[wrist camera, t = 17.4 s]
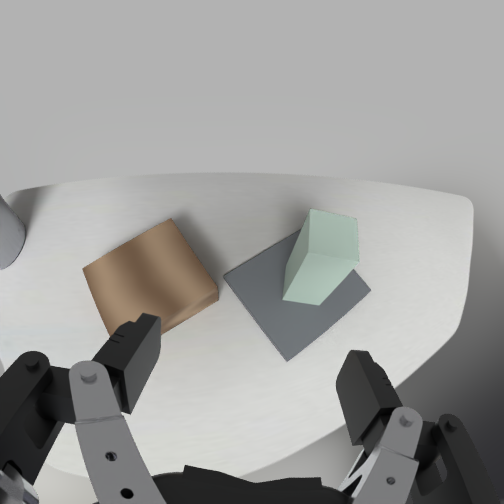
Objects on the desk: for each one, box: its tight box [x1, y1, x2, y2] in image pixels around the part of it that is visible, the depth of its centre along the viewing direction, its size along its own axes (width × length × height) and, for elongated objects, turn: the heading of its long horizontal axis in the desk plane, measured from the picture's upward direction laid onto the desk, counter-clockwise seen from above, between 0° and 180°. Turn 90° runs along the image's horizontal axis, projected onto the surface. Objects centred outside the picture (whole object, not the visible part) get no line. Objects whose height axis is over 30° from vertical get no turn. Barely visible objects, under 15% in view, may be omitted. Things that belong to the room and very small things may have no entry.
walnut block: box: [83, 218, 218, 337], centre depth 28 cm, size 12×10×4 cm
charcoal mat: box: [223, 229, 371, 361], centre depth 32 cm, size 14×12×1 cm
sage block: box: [282, 209, 359, 305], centre depth 27 cm, size 4×4×11 cm
